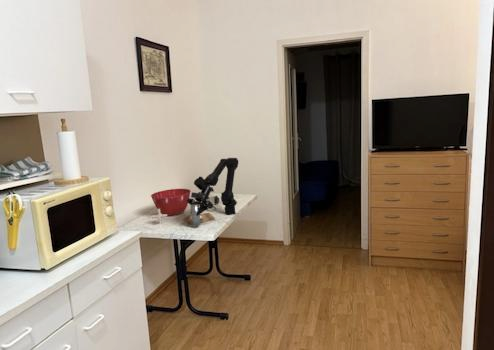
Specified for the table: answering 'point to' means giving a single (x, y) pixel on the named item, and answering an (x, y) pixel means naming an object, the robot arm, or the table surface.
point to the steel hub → (195, 214)
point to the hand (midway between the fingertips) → (193, 215)
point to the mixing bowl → (171, 201)
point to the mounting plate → (203, 218)
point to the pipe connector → (159, 216)
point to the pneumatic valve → (213, 201)
